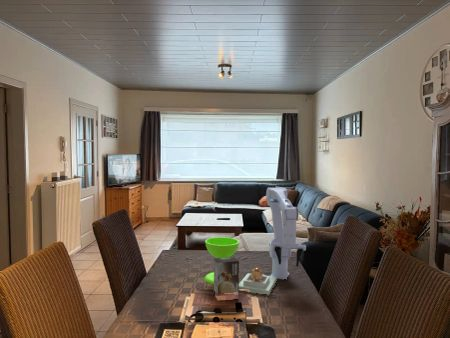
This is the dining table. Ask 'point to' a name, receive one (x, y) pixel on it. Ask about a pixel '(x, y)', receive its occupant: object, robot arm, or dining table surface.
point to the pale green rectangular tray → (258, 284)
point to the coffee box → (226, 275)
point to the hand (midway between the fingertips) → (288, 264)
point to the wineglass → (220, 250)
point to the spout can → (256, 275)
